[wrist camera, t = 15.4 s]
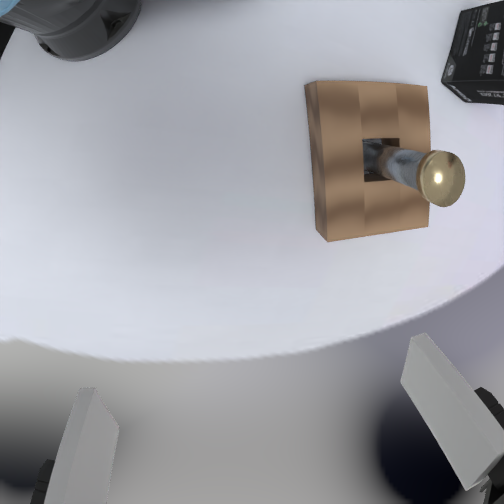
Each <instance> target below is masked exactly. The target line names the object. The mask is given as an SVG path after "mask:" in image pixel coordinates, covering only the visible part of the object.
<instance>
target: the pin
mask: <svg viewBox="0 0 504 504" xmlns="http://www.w3.org/2000/svg"><path fill="white" fill-rule="evenodd" d="M363 162H364V170H367V171H369V172H372V173H375V174H378V175H380V176H383V177H386V178H388V179H391V180H393V181H396V182H398V183H401V184H403V185H406V186H408V187H411V188H413V189H416V190H418V191H419V193H420V194H421V196H422V197H423V198H424V199H425V200H427V201H429V202H431V203H433V204H435V205H437V206H440V207H447V206H450V205H452V204H453V203H455V202H456V201H457V200H458V198H459V197H460V195H461V193H462V191H463V189H464V184H465V170H464V167H463V164H462V162H461V160H460V159H459V158H458V157H457V156H456V155H455V154H453V153H450V152H445V151H441V150H433V151H430V152H428V153H423V152H418V151H414V150H409V149H404V148H399V147H394V146H389V145H384V144H379V143H373V142H367V141H363Z"/></svg>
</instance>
